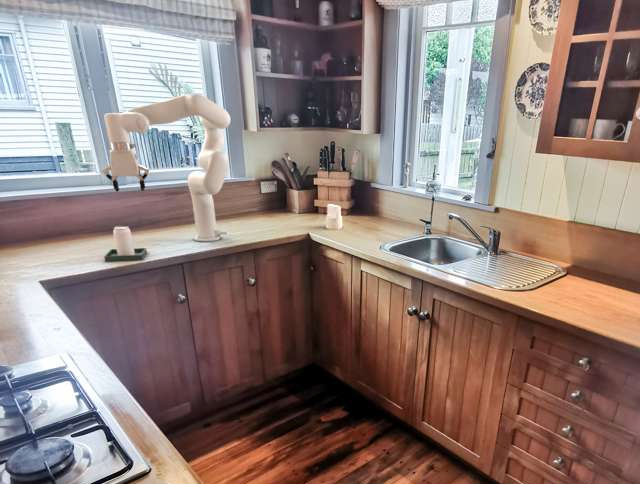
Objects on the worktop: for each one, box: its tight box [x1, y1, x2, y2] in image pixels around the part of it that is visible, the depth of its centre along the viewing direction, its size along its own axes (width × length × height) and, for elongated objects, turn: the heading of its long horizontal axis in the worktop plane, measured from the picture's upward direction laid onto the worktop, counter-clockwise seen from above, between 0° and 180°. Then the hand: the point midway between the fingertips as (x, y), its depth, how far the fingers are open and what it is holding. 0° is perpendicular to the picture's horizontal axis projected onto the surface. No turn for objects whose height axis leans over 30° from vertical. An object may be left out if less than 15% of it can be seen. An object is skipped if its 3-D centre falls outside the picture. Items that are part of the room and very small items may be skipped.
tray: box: [104, 247, 148, 262], centre depth 197 cm, size 14×11×2 cm
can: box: [112, 225, 135, 256], centre depth 195 cm, size 6×6×12 cm
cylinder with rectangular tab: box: [325, 203, 343, 230], centre depth 256 cm, size 9×9×12 cm
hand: (130, 190), depth 194 cm, fingers open, 9 cm apart
